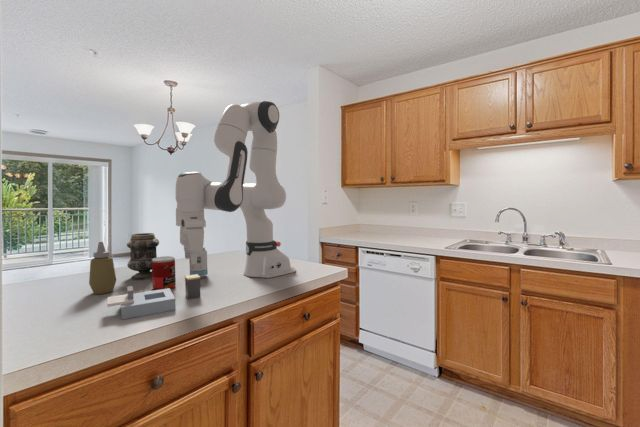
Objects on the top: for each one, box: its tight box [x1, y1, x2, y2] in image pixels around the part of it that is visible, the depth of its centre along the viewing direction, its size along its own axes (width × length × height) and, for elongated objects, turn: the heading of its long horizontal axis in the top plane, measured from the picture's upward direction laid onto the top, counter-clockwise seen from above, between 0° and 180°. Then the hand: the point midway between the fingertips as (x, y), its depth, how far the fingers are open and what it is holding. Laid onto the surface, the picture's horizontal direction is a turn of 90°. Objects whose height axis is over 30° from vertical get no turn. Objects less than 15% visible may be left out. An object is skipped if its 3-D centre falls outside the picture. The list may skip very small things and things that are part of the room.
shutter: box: [106, 285, 134, 308], centre depth 96 cm, size 7×7×3 cm
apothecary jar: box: [126, 232, 160, 281], centre depth 135 cm, size 12×12×18 cm
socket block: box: [120, 288, 177, 321], centre depth 100 cm, size 14×12×4 cm
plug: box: [184, 274, 201, 300], centre depth 110 cm, size 4×4×7 cm
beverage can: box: [188, 247, 208, 279], centre depth 134 cm, size 7×7×12 cm
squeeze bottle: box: [88, 241, 117, 295], centre depth 115 cm, size 8×8×18 cm
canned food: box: [151, 255, 176, 291], centre depth 120 cm, size 8×8×11 cm
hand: (190, 260), depth 109 cm, fingers open, 8 cm apart
